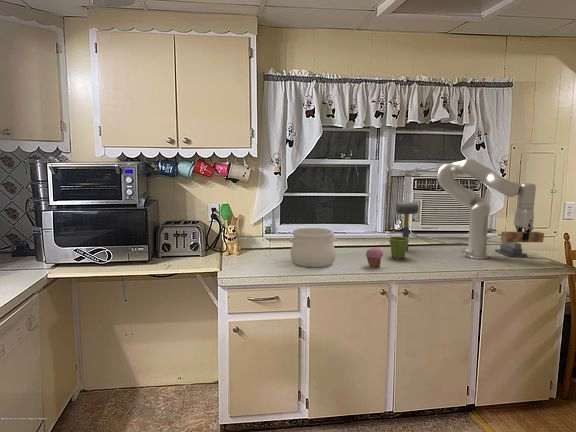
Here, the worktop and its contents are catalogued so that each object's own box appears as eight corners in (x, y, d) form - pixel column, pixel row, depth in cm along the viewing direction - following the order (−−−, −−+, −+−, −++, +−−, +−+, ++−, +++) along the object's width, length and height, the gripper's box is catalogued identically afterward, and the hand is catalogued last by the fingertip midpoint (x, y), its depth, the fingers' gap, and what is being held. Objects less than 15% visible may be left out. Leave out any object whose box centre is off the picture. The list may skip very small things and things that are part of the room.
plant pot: (411, 260, 236) (412, 240, 234) (390, 260, 236) (391, 240, 234) (405, 255, 248) (406, 236, 246) (385, 255, 248) (386, 236, 246)
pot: (296, 270, 214) (296, 236, 211) (283, 259, 237) (284, 228, 235) (343, 267, 221) (344, 234, 218) (327, 256, 244) (327, 226, 241)
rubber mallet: (412, 248, 264) (415, 201, 260) (417, 251, 257) (419, 202, 252) (393, 249, 263) (395, 201, 259) (397, 251, 256) (399, 202, 251)
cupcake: (385, 266, 223) (386, 247, 221) (376, 269, 217) (377, 250, 215) (371, 263, 229) (372, 245, 227) (362, 266, 223) (362, 247, 221)
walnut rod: (505, 242, 228) (506, 233, 227) (500, 240, 232) (501, 231, 231) (543, 242, 230) (544, 233, 230) (537, 240, 235) (538, 231, 234)
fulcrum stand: (509, 257, 244) (510, 244, 242) (494, 251, 257) (495, 239, 256) (527, 256, 245) (528, 244, 244) (511, 251, 259) (512, 239, 258)
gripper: (509, 204, 236) (506, 236, 239) (530, 208, 220) (526, 242, 222) (521, 204, 237) (518, 236, 240) (543, 208, 220) (539, 242, 223)
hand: (522, 238), depth 231 cm, fingers closed on walnut rod, 4 cm apart
